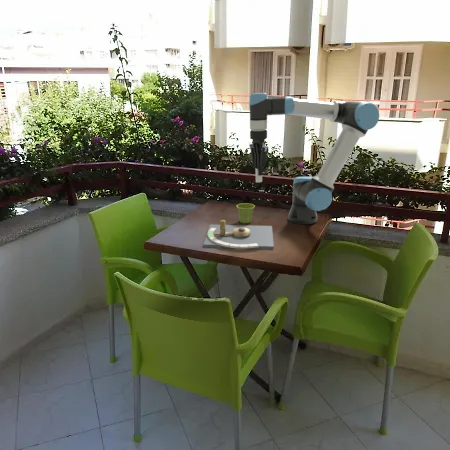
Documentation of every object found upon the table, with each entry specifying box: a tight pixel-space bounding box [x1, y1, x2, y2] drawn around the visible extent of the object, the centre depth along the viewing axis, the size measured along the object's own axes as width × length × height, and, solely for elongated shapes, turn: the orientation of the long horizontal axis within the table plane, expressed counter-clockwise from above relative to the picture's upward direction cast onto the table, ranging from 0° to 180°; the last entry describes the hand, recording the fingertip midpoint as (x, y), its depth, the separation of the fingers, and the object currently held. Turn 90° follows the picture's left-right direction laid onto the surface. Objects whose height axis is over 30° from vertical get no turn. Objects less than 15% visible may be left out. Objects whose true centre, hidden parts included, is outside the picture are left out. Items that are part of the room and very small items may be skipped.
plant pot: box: [236, 202, 256, 224], centre depth 201 cm, size 9×9×9 cm
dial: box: [214, 219, 250, 237], centre depth 180 cm, size 17×8×7 cm, turn 97°
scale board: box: [202, 224, 275, 250], centre depth 180 cm, size 31×29×2 cm
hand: (258, 181), depth 179 cm, fingers closed
